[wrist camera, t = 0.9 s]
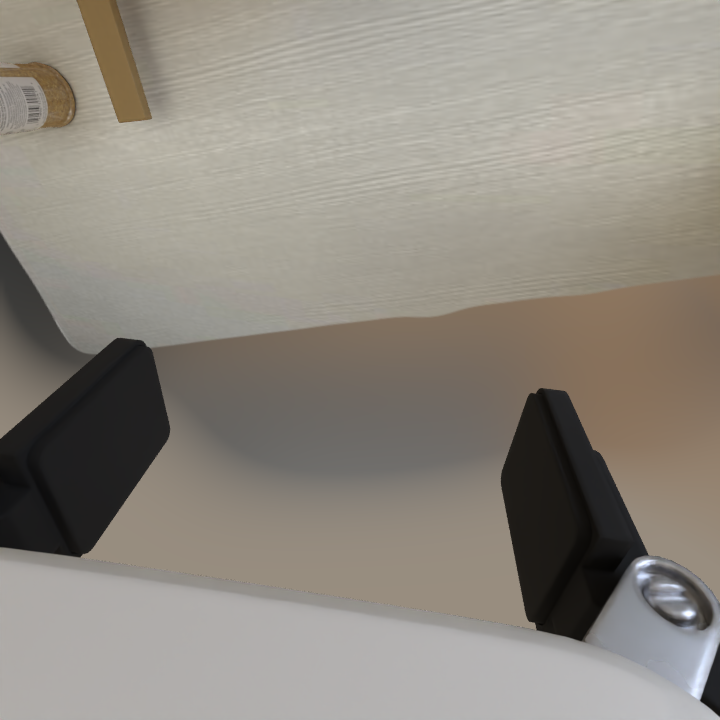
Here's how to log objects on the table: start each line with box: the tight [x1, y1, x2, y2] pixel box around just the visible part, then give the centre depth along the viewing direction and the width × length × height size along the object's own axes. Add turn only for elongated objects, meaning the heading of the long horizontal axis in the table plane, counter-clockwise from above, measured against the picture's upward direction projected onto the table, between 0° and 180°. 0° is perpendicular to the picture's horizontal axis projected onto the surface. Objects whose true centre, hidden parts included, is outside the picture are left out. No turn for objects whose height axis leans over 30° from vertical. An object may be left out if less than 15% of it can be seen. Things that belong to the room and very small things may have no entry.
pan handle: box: [77, 0, 152, 123], centre depth 29 cm, size 11×3×2 cm, turn 6°
